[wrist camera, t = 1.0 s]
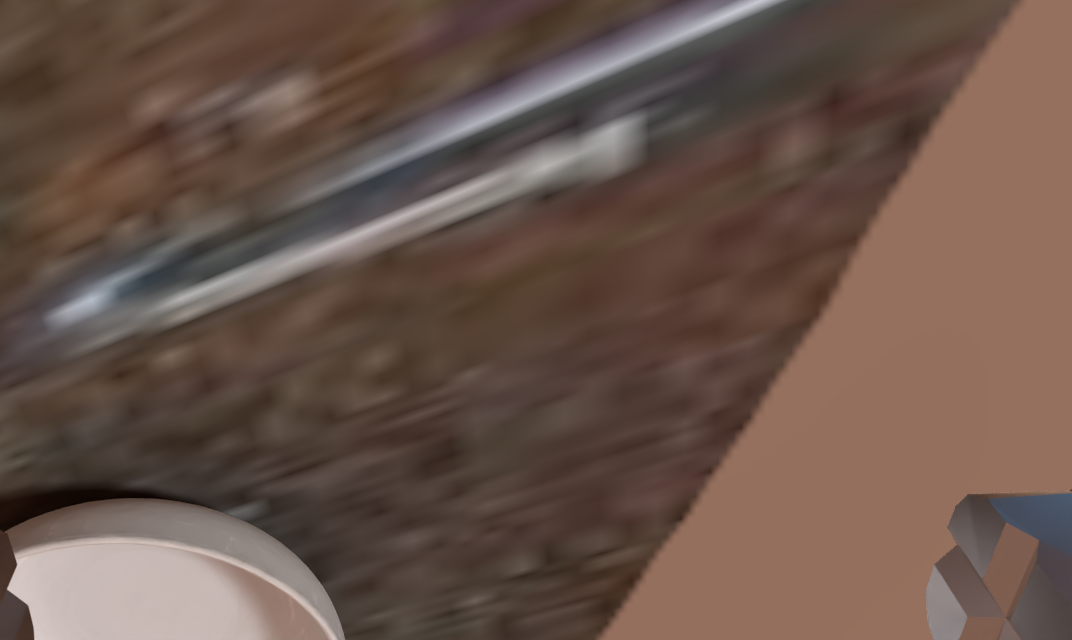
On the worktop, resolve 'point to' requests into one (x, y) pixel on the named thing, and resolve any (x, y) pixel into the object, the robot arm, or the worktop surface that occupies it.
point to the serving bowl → (163, 576)
